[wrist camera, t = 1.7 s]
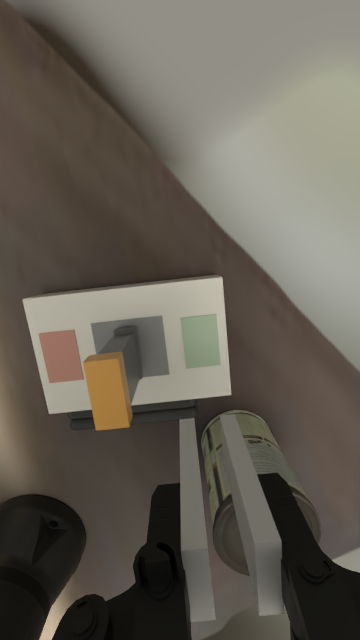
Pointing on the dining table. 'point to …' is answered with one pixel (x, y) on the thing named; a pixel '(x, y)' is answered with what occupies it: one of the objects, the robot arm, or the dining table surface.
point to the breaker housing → (152, 332)
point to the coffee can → (264, 461)
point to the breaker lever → (114, 379)
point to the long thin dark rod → (142, 413)
